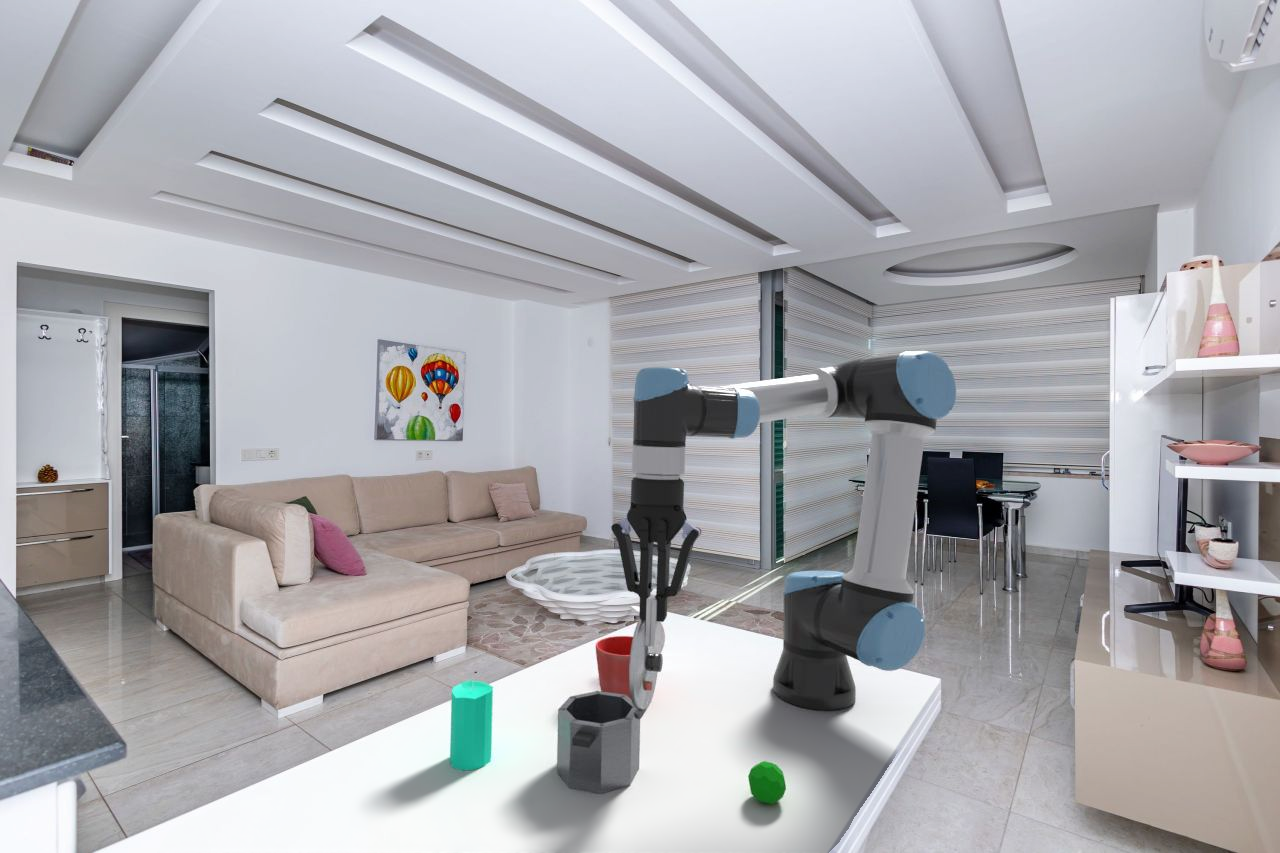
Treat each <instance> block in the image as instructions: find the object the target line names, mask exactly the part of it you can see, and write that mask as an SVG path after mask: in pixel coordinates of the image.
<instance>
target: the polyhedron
mask: <svg viewBox="0 0 1280 853" xmlns="http://www.w3.org/2000/svg"><path fill="white" fill-rule="evenodd" d="M747 777H748V783H749V789H750V794H751V795H752V796H753V797H754V798H755V800H756V801H758V802H760V803H763V804H766V805H773V804H775V803H777V802H779V801H780V800H781V799H783V798H784V795H785V792H786V790H787V788H786V787H787V786H786V780H785V776H784V772H783V770H782V769H781V768H780V767H779V766H778V765H777V764H776V763H773V762H769V761H766V760H765V761H761V762H760V761H759V763H757V764H755V765H754V766H753V767H752V768H750V770H749V773H748V776H747Z"/></svg>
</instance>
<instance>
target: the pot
mask: <svg viewBox="0 0 1280 853" xmlns="http://www.w3.org/2000/svg"><path fill="white" fill-rule="evenodd" d="M636 709H637V708H635V707H634V705H633V703H632V700H631V699H630V698H629V697H628V696H627V695H623V694H616V693H609V692H602V691H601V690H595V691H591V692H586V693H581V694H575V695H571V696H569V697H568V698H567V699H566V700H565V701H564V702H563V704H562V705H561V706H560V707H559V708H558V709H557V746H556V749H557V750H556V773H557V774H558V775H559V777H560V778H561V780H563V782H564V783H565V784H566V786H567V787H568V789H571V790H572V789H573V790H577V791H582V792H583V791H584V792H588V793H593V794H600V795H602V794H606V793H609V792H612V791H616V790H619V789H623V788H627V787H629V786H631V784H632V782H633V780H634V779H635V777H636V775H637V773H638V771H639V770H640V747H641V746H640V744H641V743H640V742H641V719H636V718H635V717H634V712H635V711H636Z"/></svg>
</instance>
